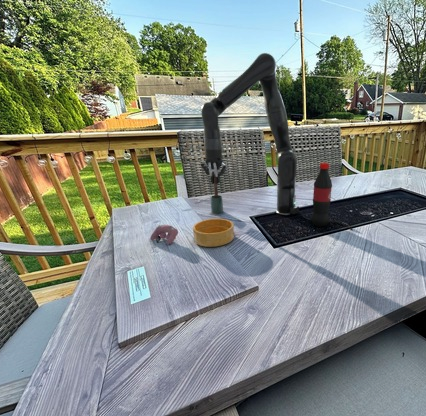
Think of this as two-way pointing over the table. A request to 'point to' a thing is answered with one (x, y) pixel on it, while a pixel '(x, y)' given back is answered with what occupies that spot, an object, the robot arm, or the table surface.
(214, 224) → the bowl
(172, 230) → the video game controller
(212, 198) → the holder
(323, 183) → the cola bottle
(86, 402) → the table surface
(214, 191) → the stick
